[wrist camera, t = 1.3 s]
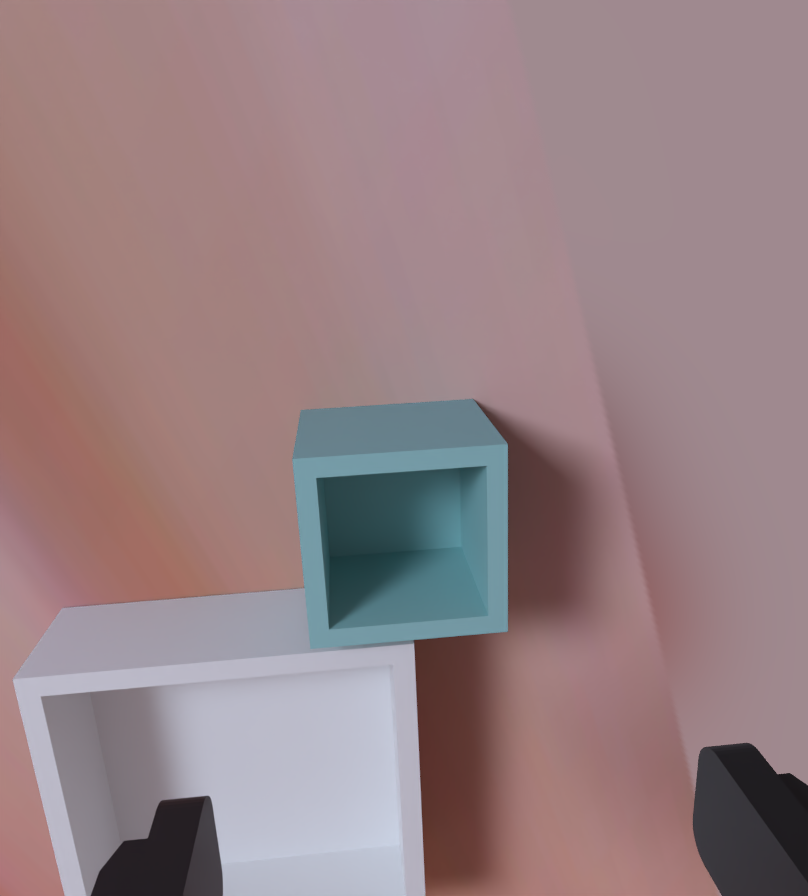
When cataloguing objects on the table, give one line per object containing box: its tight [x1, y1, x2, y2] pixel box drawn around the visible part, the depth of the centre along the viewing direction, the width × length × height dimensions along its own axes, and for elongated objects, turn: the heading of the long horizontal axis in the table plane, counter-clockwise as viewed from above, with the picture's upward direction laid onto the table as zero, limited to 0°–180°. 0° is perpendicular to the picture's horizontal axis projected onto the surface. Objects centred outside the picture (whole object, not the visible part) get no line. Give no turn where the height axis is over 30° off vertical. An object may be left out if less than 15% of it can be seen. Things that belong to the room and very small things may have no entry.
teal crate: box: [292, 399, 508, 649], centre depth 24 cm, size 6×6×6 cm
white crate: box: [13, 588, 425, 896], centre depth 27 cm, size 12×12×4 cm
